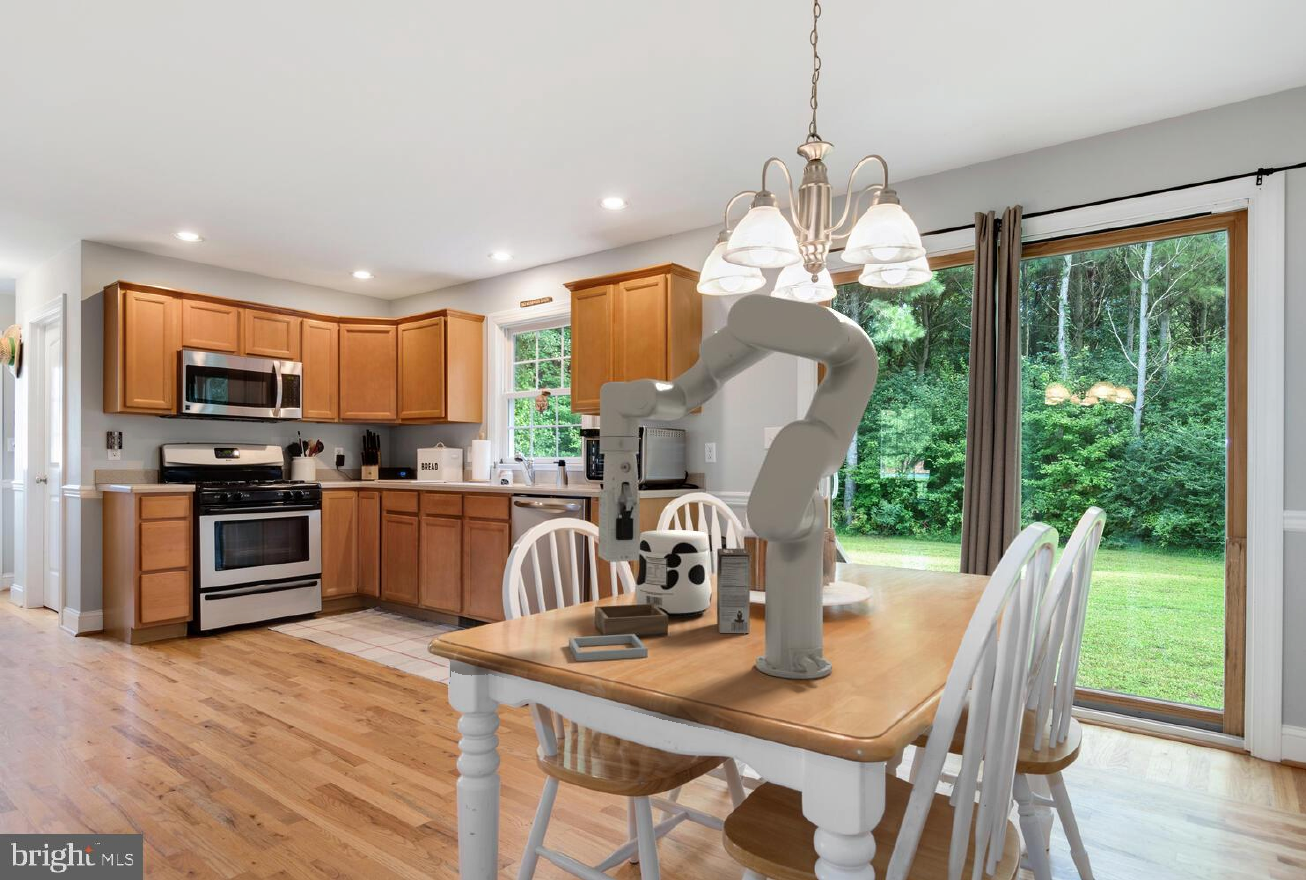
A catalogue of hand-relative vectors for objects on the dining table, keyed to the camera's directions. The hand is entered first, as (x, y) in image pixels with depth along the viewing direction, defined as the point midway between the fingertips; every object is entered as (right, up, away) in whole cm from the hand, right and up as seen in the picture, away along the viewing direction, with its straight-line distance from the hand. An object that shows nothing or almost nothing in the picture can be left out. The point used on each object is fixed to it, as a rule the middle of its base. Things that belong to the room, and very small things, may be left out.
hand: (618, 536), depth 143 cm
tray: (-2, -20, -7) cm, 21 cm away
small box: (0, -4, 0) cm, 4 cm away
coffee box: (+23, -21, +10) cm, 33 cm away
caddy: (+2, -20, +8) cm, 22 cm away
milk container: (+11, -21, +25) cm, 34 cm away
